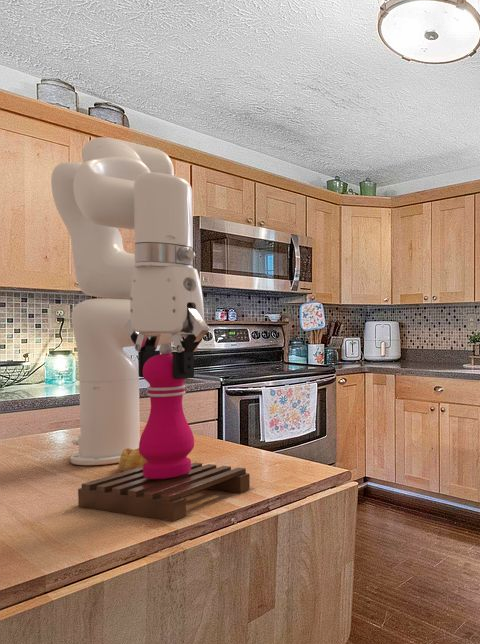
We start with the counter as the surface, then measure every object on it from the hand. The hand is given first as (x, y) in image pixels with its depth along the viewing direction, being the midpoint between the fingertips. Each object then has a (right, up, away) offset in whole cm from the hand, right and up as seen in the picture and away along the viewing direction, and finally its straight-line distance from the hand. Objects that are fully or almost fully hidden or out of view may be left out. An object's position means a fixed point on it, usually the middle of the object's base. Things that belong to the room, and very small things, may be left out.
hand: (166, 376), depth 76 cm
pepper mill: (0, -15, +1) cm, 15 cm away
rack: (0, -19, +1) cm, 19 cm away
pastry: (-14, -18, +16) cm, 28 cm away
